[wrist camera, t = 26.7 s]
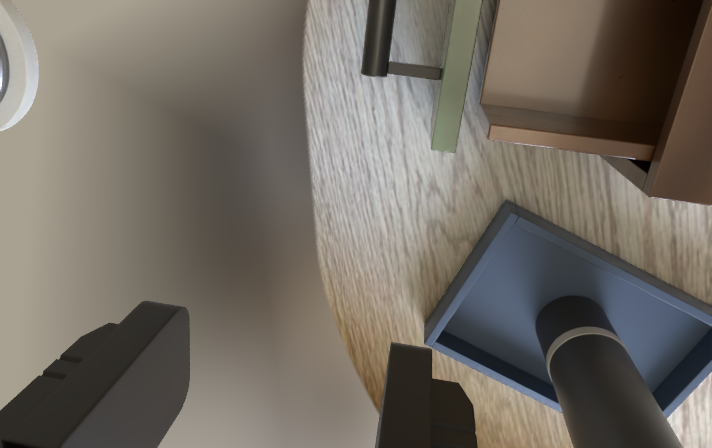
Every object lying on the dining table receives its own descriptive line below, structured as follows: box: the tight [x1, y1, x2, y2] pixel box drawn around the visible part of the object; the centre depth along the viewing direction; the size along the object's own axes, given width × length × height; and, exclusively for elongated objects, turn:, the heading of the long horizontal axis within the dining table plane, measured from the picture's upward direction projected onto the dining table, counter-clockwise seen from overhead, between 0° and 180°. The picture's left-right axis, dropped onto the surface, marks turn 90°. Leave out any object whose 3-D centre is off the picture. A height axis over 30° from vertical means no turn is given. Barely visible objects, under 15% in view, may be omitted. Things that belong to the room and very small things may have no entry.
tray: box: [424, 200, 712, 419], centre depth 37 cm, size 17×11×2 cm, turn 64°
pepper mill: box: [536, 296, 683, 448], centre depth 31 cm, size 5×5×16 cm
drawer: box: [361, 0, 703, 162], centre depth 27 cm, size 19×13×8 cm
